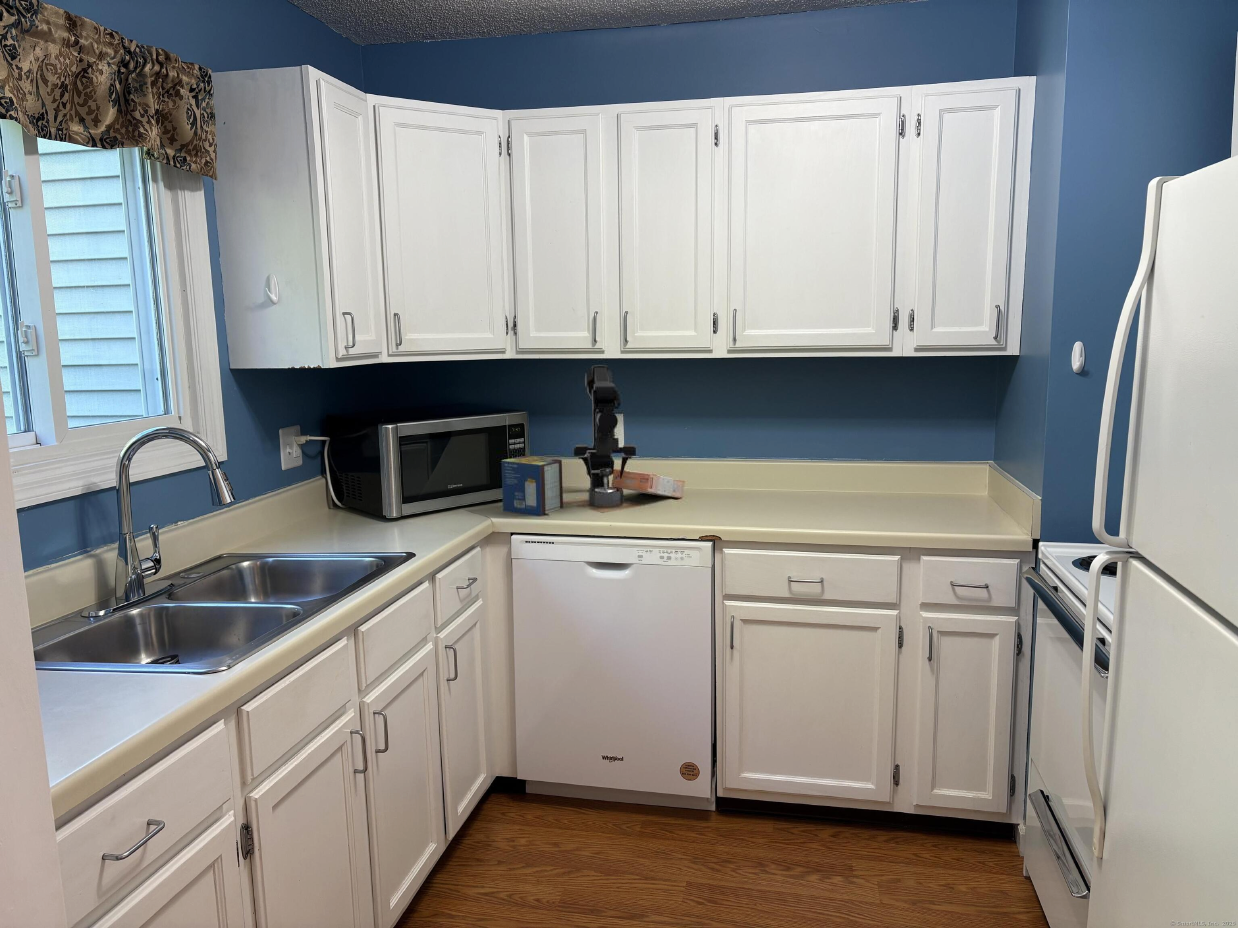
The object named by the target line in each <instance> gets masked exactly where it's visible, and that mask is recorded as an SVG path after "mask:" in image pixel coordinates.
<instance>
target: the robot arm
mask: <svg viewBox="0 0 1238 928" xmlns="http://www.w3.org/2000/svg"><path fill="white" fill-rule="evenodd" d="M612 378H613V377H612V371H611V370H610V369H609V366H608V365H605V364H604V365H603V364H602V365H601V364H597V365H596V364H595V365H592V366H591V368H590V369H589V370H587V371H586V372H585V378H584V382H585V383H584V385H585V388H586V389H587V390H586V391H587V394H588V396H589V397H590V399H591V400H592V401H591V403H592V404H591V405H592V445H591V447H590V446H589V444H576V445H575V446H574V448H573V456H574V457H578V458H577V459H580V460H582V462H583V464H584V466H585V468H586V475H587V476H588V477H589V482H590V485H589V486H590V487H589V488H591V487H594V488H597V487H604V476H600V469H602V468H610V469H612V475H613V472H614V469H615V460H614V459H613V454H622V456H621V464H620V469H619V470H620V479H621V478H622V475H623V471H624V470H625V467H626V465H627V462H628V461H629V459H632V458H633V457H635V456H637V445H636V444H623V446H620V443H619V441H620V440H619V439H620V438H619V437H616V435H615V433H616V432H615V429H616V427H617V426H618V422H619V420H618V417H617V414H616V413H615V410H619V409H620V407H621V396H620V395H621V393H620V392H619V390H618V388H616V386H615V384H614V383H613V382H612V381H613V379H612ZM611 455H612V456H611ZM609 477H610V476H607V487H610V478H609ZM588 490H589V489H587V490H586V492H587V491H588Z"/></svg>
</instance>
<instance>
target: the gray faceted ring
mask: <svg viewBox="0 0 1238 928" xmlns="http://www.w3.org/2000/svg"><path fill="white" fill-rule="evenodd" d="M609 487H610V488H616V489H617V491H616V492H595V489H596V488H594V487H591V488H590V487H589V489H587V490H588V492H587V493H588V494H587V495H588V496H587V497H588V498H589V506H592V507H597V508H614V507H620V506H622V505H623V500H624V489H622V488H617V487H611V486H609ZM597 488H603V487H597Z"/></svg>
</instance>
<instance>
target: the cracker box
mask: <svg viewBox="0 0 1238 928" xmlns="http://www.w3.org/2000/svg"><path fill="white" fill-rule="evenodd" d="M620 470H621V469H618V468H617V469H615V468H614V472H613V474H612V480H611V486H610V487H617V488H622V489H623V490H629V491H633V492H639V493H645V494H650V495H656V496H663V497H671V498H680V499H682V498H683V495H684V487H685V482H686V481H685V480H681V479H677V478H676V479H675V478H671V477H667V476H661V475H658V474H653V473H649V472H641V471H634V470H627V469H626V470H625V469H624V471H623V475H622V478H621V479H620Z"/></svg>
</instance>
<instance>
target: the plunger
mask: <svg viewBox="0 0 1238 928" xmlns="http://www.w3.org/2000/svg"><path fill="white" fill-rule="evenodd" d="M600 476H604V487H603V488H596V489H595V492H616V491H617V489H616V488H610V487H611V486H609V487H607V476H609V477H610V476H613V474H612V469H610V468H602V469H600Z"/></svg>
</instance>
